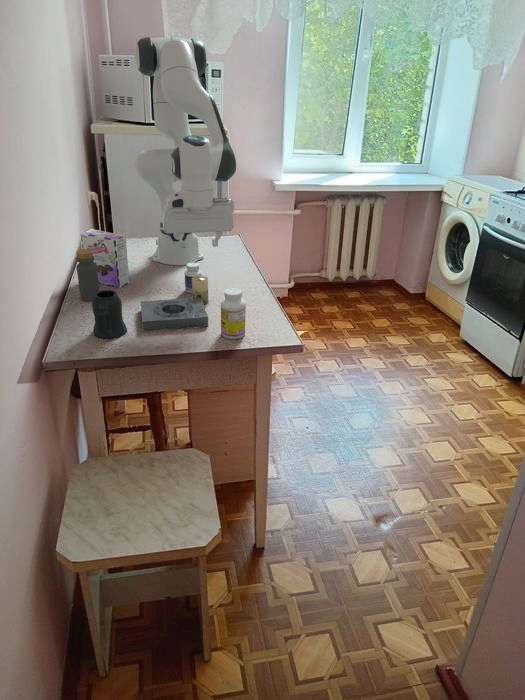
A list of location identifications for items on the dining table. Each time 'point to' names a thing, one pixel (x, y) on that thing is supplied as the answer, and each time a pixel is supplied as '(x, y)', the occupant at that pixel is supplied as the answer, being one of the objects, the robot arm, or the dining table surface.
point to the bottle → (87, 275)
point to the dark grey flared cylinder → (108, 315)
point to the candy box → (108, 256)
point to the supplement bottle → (233, 314)
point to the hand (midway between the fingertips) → (199, 246)
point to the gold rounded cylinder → (200, 288)
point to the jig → (173, 314)
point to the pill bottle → (191, 275)
